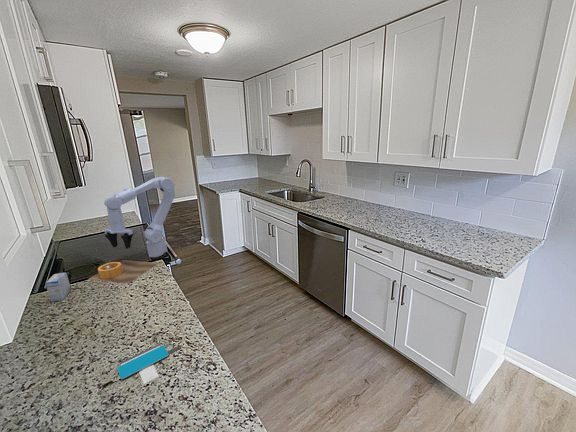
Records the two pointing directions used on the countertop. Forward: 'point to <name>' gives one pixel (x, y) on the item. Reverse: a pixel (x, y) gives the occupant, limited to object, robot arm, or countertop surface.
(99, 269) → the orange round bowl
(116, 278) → the walnut board
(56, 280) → the medicine box
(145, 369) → the blue panel with block
